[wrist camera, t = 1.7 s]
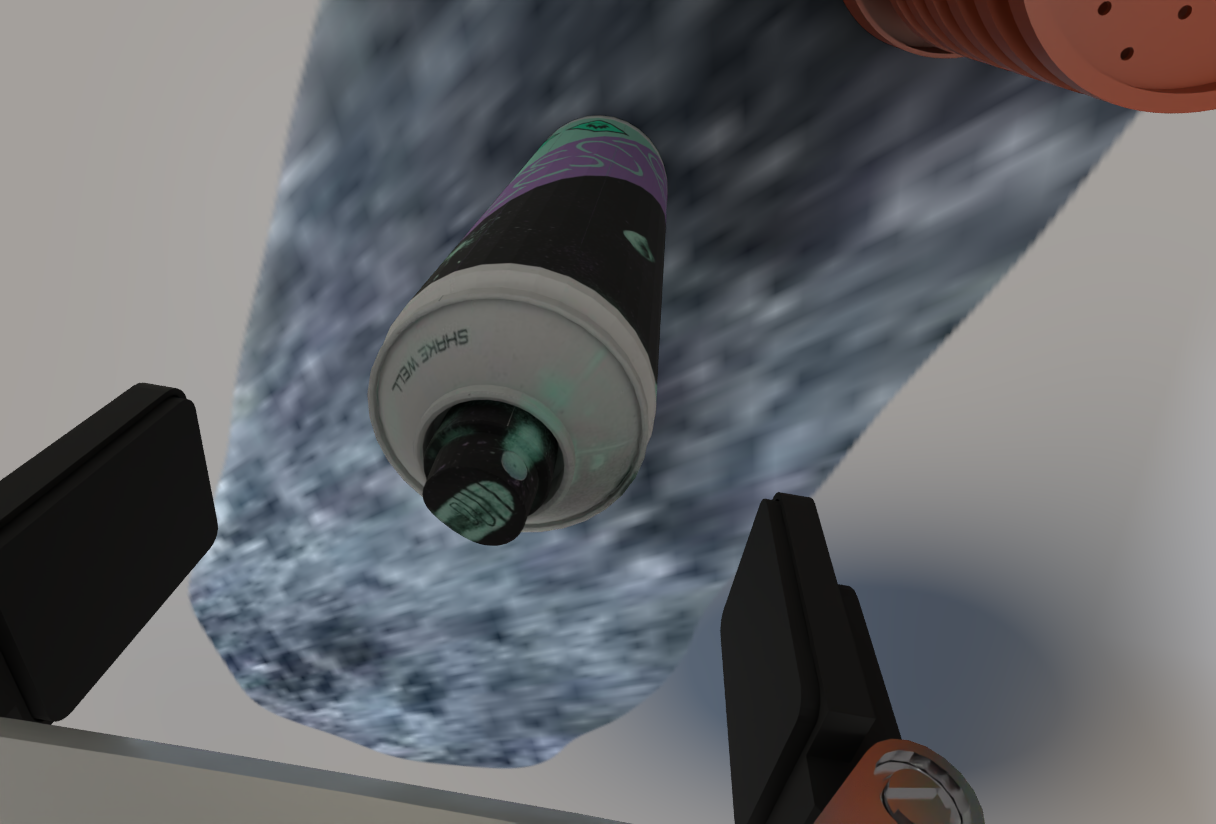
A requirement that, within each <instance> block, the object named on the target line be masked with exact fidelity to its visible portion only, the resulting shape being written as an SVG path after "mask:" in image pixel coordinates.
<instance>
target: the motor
mask: <svg viewBox="0 0 1216 824" xmlns="http://www.w3.org/2000/svg"><path fill="white" fill-rule="evenodd" d="M843 1H844V3H845V5H846V7H847V8H848V10H849V11H850V13H851V14H852V16H853V17H854V18H855V20H856V21H857V22H858V23H859V24H860V25H861V26H862V27H863V28H864V29H865V30H866V31H867V32H869V33H870V34H871V35H873V36H874V37H876V38H877V39H879V40H881V41H883V42H885V43H887V44H889V45H892V46H895V47H897V48H900V49H903V50H905V51H908V52H911V53H914V54H917V55H921V56H925V57H932V58H959V57H967V58H970V59H973V60H976V61H980V62H983V63H986V64H989V65H992V66H995V67H998V68H1002V69H1005V70H1008V71H1012V72H1015V73H1017V74H1021V75H1024V76H1027V77H1030V78H1033V79H1037V80H1040V81H1044V82H1047V83H1050V84H1052V85H1055V86H1059V87H1062V88H1065V89H1068V90H1071V91H1075V92H1078V93H1082V94H1086V95H1089V96H1091V97H1094V98H1096V99H1100V100H1103V101H1106V102H1109V103H1112V104H1115V105H1119V106H1122V107H1125V108H1129V109H1134V110H1139V111H1146V112H1153V113H1154V112H1155V113H1189V112H1190V113H1191V112H1201V111H1207V110H1214V109H1216V0H843Z"/></svg>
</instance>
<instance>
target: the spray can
mask: <svg viewBox="0 0 1216 824" xmlns="http://www.w3.org/2000/svg"><path fill="white" fill-rule="evenodd" d="M667 195H668V192H667V177H666V172H665V168H664V164H663V161H662V159H661V157H660V155H659V153H658V150H657V149H656V148H655V146H654V145H653V143H652V142H651V141H650V139H649V138H648V137H647V136H646V135H645V134H643V133H642V132H641V131H640V130H639V129H638V128H636V127H634V126H633V125H631V124H630V123H628V122H626V121H623V120H620V119H617V118H615V117H608V116H601V115H599V116H586V117H583V118H579V119H576V120H573V121H571V122H569V123H567V124H566V125H564V126H562V127H561V128H559V129H558V130H557V131H556V132H554V133H553V134H552V135H551V136H550V137H549V138H548V139H547V140H546V141H545V142H544V144H543V145H542V146H541V147H540V148H539V149H538V151H537V152H536V153H535V154H534V155H533V157H532V158H531V159H530V160H529V161H528V162H527V164H526V165H525V166H524V167H523V168H522V170H521V171H520V172H519V173H518V174H517V175H516V177H515V178H514V179H513V180H512V181H511V183H510V184H509V185H508V186H507V187H506V188H505V190H504V191H503V192H502V193H501V194H500V195H499V197H498V198H497V199H496V200H495V201H494V203H493V204H492V205H491V206H490V207H489V208H488V210H487V211H486V212H485V213H484V214H483V216H482V217H481V218H480V219H479V220H478V221H477V223H476V224H475V225H474V226H473V227H472V229H471V230H470V231H469V232H468V233H467V234H466V236H465V237H464V238H463V239H462V240H461V242H460V243H459V244H458V245H457V246H456V247H455V249H454V250H453V251H452V252H451V253H450V255H449V256H448V257H447V258H446V259H445V260H444V262H443V263H442V264H441V265H440V266H439V268H438V269H437V270H436V271H435V272H434V273H433V275H432V276H431V277H430V278H429V279H428V281H427V282H426V283H425V284H424V285H423V286H422V288H421V289H420V290H419V291H418V292H417V294H416V295H415V296H414V297H413V298H412V299H411V301H410V302H409V303H408V304H407V305H406V307H405V308H404V309H403V311H402V312H401V313H400V315H399V316H398V317H397V319H396V320H395V321H394V323H393V324H392V325H391V327H390V329H389V332H388V334H387V336H386V339H385V341H384V344H383V346H382V347H381V348H380V350H379V353H378V355H377V357H376V360H375V362H374V365H373V367H372V369H371V374H370V381H369V387H368V404H369V416H370V420H371V423H372V426H373V429H374V433H375V436H376V439H377V441H378V443H379V445H380V447H381V449H382V450H383V452H384V454H385V456H386V458H387V460H388V461H389V462H390V464H391V465H392V466H393V467H394V469H395V470H396V471H397V472H398V474H399V475H400V476H401V477H402V479H403V480H404V481H405V482H406V483H407V484H409V485H410V486H411V487H412V488H413V489H414V490H415V491H416V492H417V493H419V494H420V495H421V496H422V497H423V500H424V502H425V504H426V506H427V508H428V509H429V510H430V511H431V513H432V514H433V515H435V516H436V517H437V518H438V519H439V520H440V521H441V522H443V523H444V524H445V525H447V526H448V527H449V528H451V529H452V530H453V531H455V532H457V533H458V534H460V535H461V536H463V537H465V538H467V539H469V540H471V541H473V542H476V543H479V544H483V545H492V546H498V545H503V544H507V543H508V542H510V541H512V540H514V539H515V538H516V537H517V536H518V535H519V534H520V533H521V532H543V531H549V530H555V529H561V528H565V527H568V526H571V525H574V524H577V523H580V522H583V521H586V520H588V519H589V518H591V517H593V516H595V515H596V514H598V513H600V512H602V511H604V510H605V509H607V508H608V507H609V506H610V505H611V504H612V503H614V502H615V501H616V500H617V499H618V498H619V497H621V496H622V495H623V493H624V492H625V491H626V489H627V488H628V487H629V485H630V484H631V483H632V481H633V480H634V479H635V477H636V475H637V473H638V471H639V468H640V466H641V464H642V461H643V459H644V457H645V451H646V446H647V444H648V441H649V439H650V437H651V434H652V429H653V423H654V418H655V412H656V395H657V377H658V359H659V340H660V322H661V304H662V286H663V267H664V249H665V231H666V213H667Z"/></svg>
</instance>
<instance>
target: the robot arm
mask: <svg viewBox="0 0 1216 824" xmlns="http://www.w3.org/2000/svg"><path fill="white" fill-rule="evenodd" d="M217 531H218V523H217V518H216V512H215V507H214V502H213V497H212V492H211V486H210V481H209V476H208V471H207V466H206V461H205V455H204V450H203V445H202V440H201V435H200V429H199V424H198V419H197V414H196V409H195V406H194V404H193V402H192V401H191V400H188V399H186V396H185V394H184V393H183V391H181V390H179V389H177V388H172V387H166V386H159V385H154V384H148V383H138V384H136V385H134V386H132V387H131V388H130V389H128V390H127V391H126V392H124V393H123V394H121V395H120V396H118V397H117V398H116V399H114V400H113V401H111V402H110V403H109V404H107V405H106V406H104V407H103V408H102V409H100V410H99V411H98V412H96V413H95V414H93V415H92V416H90V417H89V418H88V419H86V420H85V421H83V422H82V423H81V424H79V425H78V426H76V427H75V428H74V429H72V430H71V431H69V432H68V433H67V434H65V435H64V436H62V437H61V438H60V439H58V440H57V441H55V442H54V443H53V444H51V445H50V446H48V447H47V448H45V449H44V450H43V451H41V452H40V453H39V454H37V455H36V456H35V457H33V458H31V459H30V460H29V461H27V462H26V463H24V464H23V465H22V466H20V467H19V468H17V469H16V470H15V471H13V472H12V473H10V474H9V475H8V476H6V477H5V478H3V479H2V480H1V481H0V824H630V823H625V822H619V821H614V820H609V819H604V818H599V817H593V816H588V815H583V814H578V813H572V812H566V811H560V810H555V809H548V808H543V807H537V806H531V805H526V804H520V803H514V802H508V801H502V800H497V799H491V798H485V797H480V796H473V795H468V794H462V793H457V792H451V791H445V790H439V789H433V788H427V787H422V786H416V785H410V784H405V783H399V782H393V781H386V780H380V779H375V778H369V777H363V776H357V775H351V774H345V773H339V772H333V771H328V770H321V769H316V768H309V767H304V766H298V765H292V764H286V763H280V762H274V761H268V760H262V759H256V758H250V757H244V756H238V755H232V754H226V753H220V752H214V751H208V750H202V749H195V748H189V747H184V746H178V745H171V744H165V743H159V742H153V741H147V740H140V739H134V738H128V737H122V736H116V735H110V734H103V733H97V732H91V731H85V730H79V729H73V728H67V727H61V726H54V725H51V724H52V723H53V722H54V721H55V722H56V721H60V720H62V719H64V718H65V717H67V716H68V715H69V714H70V713H71V712H72V711H73V710H74V708H75V707H76V706H77V705H78V704H79V703H80V701H81V700H82V699H83V698H84V697H85V696H86V694H87V693H88V692H89V691H90V690H91V688H92V687H93V686H94V685H95V684H96V683H97V681H98V680H99V679H100V678H101V677H102V676H103V674H104V673H105V672H106V671H107V670H108V668H109V667H110V666H111V665H112V664H113V663H114V661H115V660H116V659H117V658H118V657H119V655H120V654H121V653H122V652H123V650H124V649H125V648H126V647H127V646H128V645H129V644H130V642H131V641H132V640H133V639H134V638H135V636H136V635H137V634H138V633H139V632H140V631H141V629H142V628H143V627H144V626H145V625H146V623H147V622H148V621H149V620H150V619H151V617H152V616H153V615H154V614H155V613H156V612H157V610H158V609H159V608H160V607H161V606H162V605H163V603H164V602H165V601H166V600H167V599H168V597H169V596H170V595H171V594H172V593H173V591H174V590H175V589H176V588H177V587H178V586H179V584H180V583H181V582H182V581H183V580H184V578H185V577H186V576H187V575H188V574H189V573H190V571H191V570H192V569H193V568H194V567H195V566H196V564H197V563H198V562H199V561H200V560H201V558H202V557H203V556H204V555H205V554H206V553H207V551H208V550H209V549H210V548H211V546H212V545H213V543H214V541H215V539H216V536H217ZM720 631H721V647H722V660H723V672H724V673H723V674H724V687H725V699H726V713H727V726H728V740H729V753H730V766H731V780H732V794H733V806H734V819H735V824H985V822H984V815H983V810H982V807H981V805H980V803H979V801H978V798H977V796H976V794H975V792H974V790H973V789H972V788H971V786H970V785H969V783H968V782H967V781H966V779H965V778H964V777H963V775H962V774H961V773H960V772H959V771H958V770H957V769H956V768H955V767H954V766H953V765H951V764H950V763H949V762H948V761H947V760H946V759H945V758H943V757H942V756H940V755H939V754H937V753H935V752H934V751H932V750H931V749H929V748H928V747H926V746H923V745H920V744H917V743H914V742H911V741H909V740H902V739H901V735H900V732H899V729H898V726H897V723H896V719H895V716H894V713H893V710H892V707H891V703H890V700H889V697H888V693H887V690H886V687H885V684H884V681H883V677H882V674H881V671H880V668H879V664H878V662H877V658H876V655H875V652H874V648H873V645H872V642H871V639H870V635H869V632H868V629H867V626H866V622H865V619H864V616H863V613H862V610H861V607H860V603H859V600H858V598H857V595H856V593H855V591H854V590H853V589H852V588H851V587H850V586H845V585H840V584H837V580H836V576H835V573H834V570H833V566H832V562H831V559H830V556H829V552H828V548H827V545H826V541H825V537H824V534H823V530H822V527H821V523H820V520H819V516H818V513H817V509H816V506H815V503H814V500H813V499H812V498H809V497H804V496H798V495H792V494H786V493H780V492H778V493H776V494H775V496H774V497H773V499H772V500H769V499H763V500H762V501H761V503H760V506H759V509H758V511H757V514H756V517H755V520H754V523H753V526H752V529H751V532H750V535H749V538H748V541H747V543H746V546H745V549H744V552H743V555H742V558H741V561H740V564H739V567H738V570H737V572H736V575H735V578H734V581H733V584H732V587H731V590H730V593H729V596H728V599H727V602H726V605H725V607H724V610H723V614H722V619H721V630H720Z"/></svg>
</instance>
